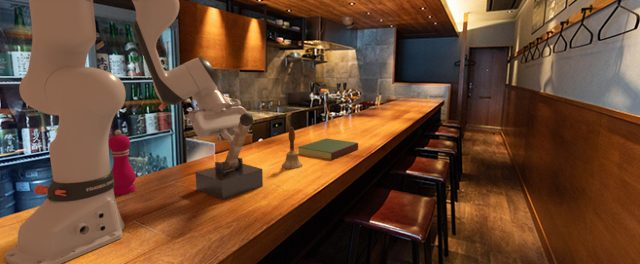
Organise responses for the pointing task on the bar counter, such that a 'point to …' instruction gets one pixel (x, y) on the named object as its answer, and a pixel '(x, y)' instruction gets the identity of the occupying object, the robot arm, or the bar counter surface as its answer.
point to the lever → (237, 142)
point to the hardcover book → (328, 148)
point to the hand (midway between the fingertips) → (234, 141)
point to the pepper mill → (121, 164)
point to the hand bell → (292, 153)
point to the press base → (228, 180)
